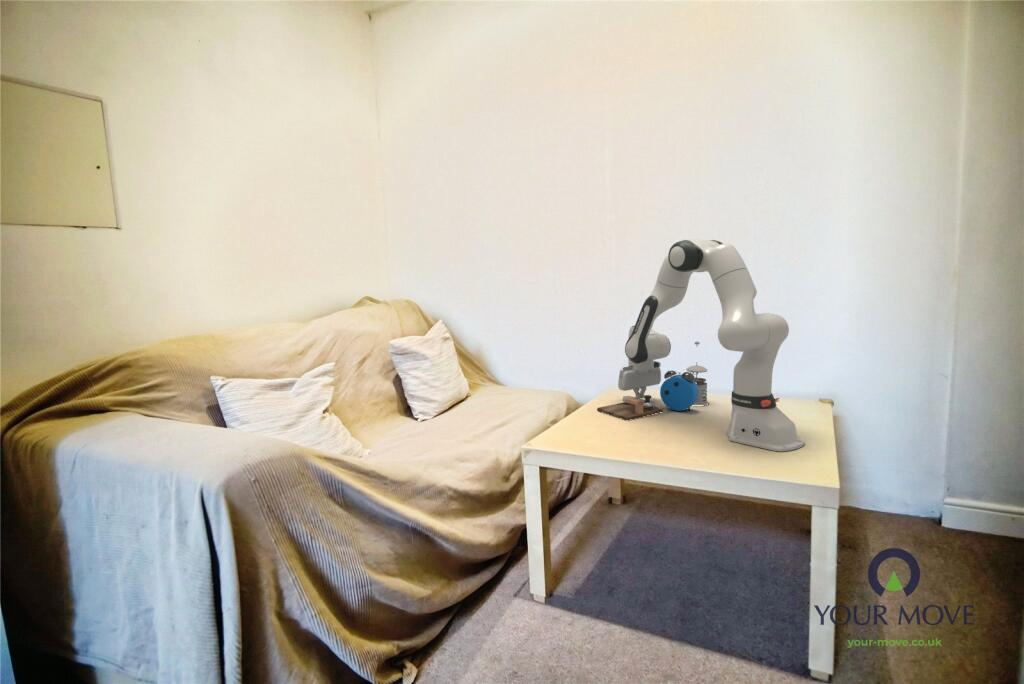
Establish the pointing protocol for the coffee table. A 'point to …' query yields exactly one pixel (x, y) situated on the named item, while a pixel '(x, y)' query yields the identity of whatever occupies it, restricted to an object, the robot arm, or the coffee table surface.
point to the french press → (699, 383)
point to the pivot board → (627, 411)
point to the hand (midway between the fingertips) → (639, 398)
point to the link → (647, 402)
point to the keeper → (636, 404)
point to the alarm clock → (679, 391)
